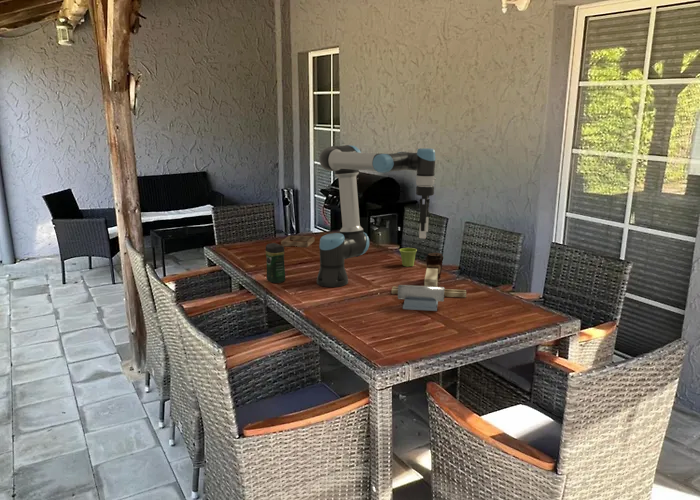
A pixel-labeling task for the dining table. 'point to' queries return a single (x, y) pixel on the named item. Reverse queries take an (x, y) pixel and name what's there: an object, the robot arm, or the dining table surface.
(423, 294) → the axle
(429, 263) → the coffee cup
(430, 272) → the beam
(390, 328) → the dining table surface
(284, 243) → the can corral
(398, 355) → the dining table surface
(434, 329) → the dining table surface
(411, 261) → the plant pot
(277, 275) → the coffee jar
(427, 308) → the v block
